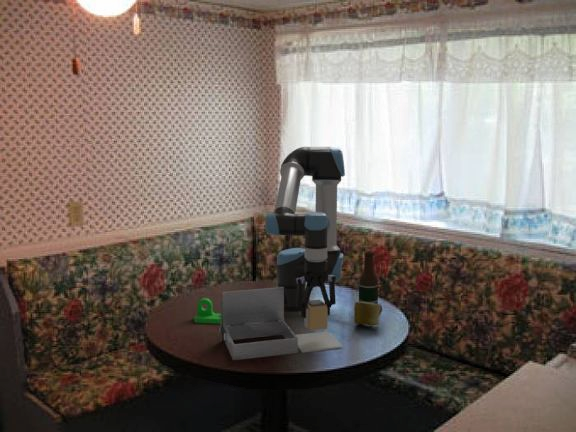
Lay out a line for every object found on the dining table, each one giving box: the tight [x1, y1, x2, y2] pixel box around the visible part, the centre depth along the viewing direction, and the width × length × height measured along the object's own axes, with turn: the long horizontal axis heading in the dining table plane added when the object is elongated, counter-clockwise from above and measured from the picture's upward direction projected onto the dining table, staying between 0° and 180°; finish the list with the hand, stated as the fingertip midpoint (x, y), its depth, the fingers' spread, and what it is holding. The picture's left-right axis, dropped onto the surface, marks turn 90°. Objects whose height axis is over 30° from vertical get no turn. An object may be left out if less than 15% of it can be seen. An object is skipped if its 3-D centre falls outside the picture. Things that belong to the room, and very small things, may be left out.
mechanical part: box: [193, 297, 221, 325], centre depth 217 cm, size 12×6×8 cm, turn 82°
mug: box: [353, 301, 383, 327], centre depth 211 cm, size 12×10×10 cm
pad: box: [295, 330, 343, 354], centre depth 196 cm, size 14×14×1 cm
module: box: [307, 299, 328, 331], centre depth 195 cm, size 6×6×9 cm
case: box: [218, 286, 299, 361], centre depth 192 cm, size 23×18×17 cm
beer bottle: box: [358, 250, 379, 304], centre depth 226 cm, size 8×8×24 cm
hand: (315, 325), depth 195 cm, fingers closed on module, 6 cm apart
